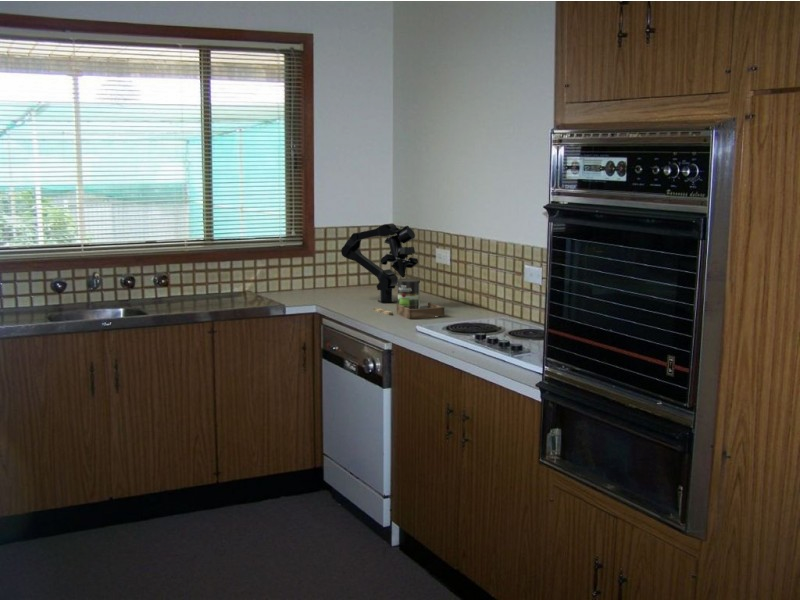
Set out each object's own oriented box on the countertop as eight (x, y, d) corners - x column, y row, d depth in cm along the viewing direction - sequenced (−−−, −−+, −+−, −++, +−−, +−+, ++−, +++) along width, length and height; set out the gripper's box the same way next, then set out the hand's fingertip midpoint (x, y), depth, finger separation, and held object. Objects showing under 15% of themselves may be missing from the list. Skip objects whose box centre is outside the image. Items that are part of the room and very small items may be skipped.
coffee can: (413, 313, 411) (413, 281, 408) (393, 311, 416) (393, 280, 413) (424, 309, 420) (424, 279, 418) (404, 307, 424) (403, 277, 422)
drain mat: (416, 307, 426) (416, 306, 426) (434, 306, 429) (434, 305, 429) (424, 310, 418) (424, 309, 418) (442, 309, 421) (442, 308, 421)
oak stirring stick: (373, 311, 417) (373, 308, 417) (377, 311, 418) (377, 307, 418) (389, 316, 406) (389, 312, 405) (392, 315, 407) (392, 312, 406)
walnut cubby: (396, 313, 410) (396, 304, 409) (430, 311, 416) (430, 302, 415) (409, 319, 396) (409, 310, 395) (444, 316, 402) (444, 307, 401)
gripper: (390, 237, 422) (398, 266, 415) (421, 241, 433) (429, 271, 427) (376, 248, 429) (383, 278, 423) (407, 253, 441) (414, 281, 435)
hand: (403, 277), depth 427 cm, fingers closed
